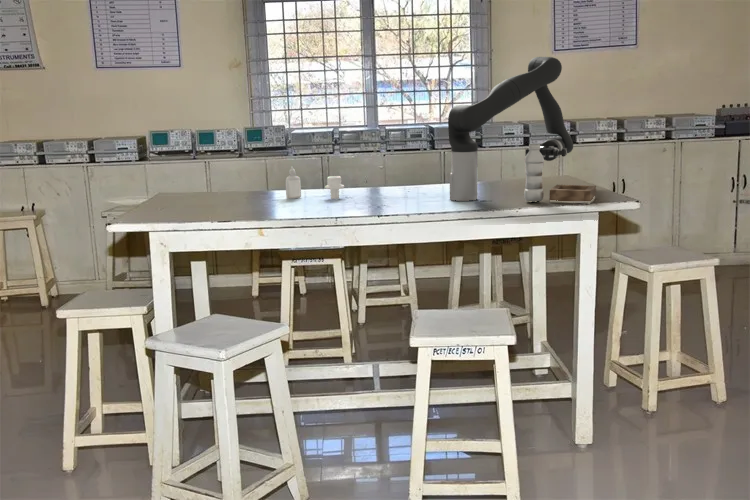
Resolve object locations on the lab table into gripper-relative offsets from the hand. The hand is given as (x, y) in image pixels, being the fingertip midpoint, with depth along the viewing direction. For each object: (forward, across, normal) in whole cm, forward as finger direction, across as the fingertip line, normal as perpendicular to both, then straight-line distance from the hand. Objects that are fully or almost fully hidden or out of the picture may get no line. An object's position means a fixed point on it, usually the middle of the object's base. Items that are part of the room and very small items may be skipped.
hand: (542, 154), depth 262 cm
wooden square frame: (+5, +12, +16) cm, 20 cm away
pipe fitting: (+20, -73, +15) cm, 77 cm away
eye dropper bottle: (+23, -89, +14) cm, 93 cm away
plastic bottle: (+13, 0, +16) cm, 20 cm away
